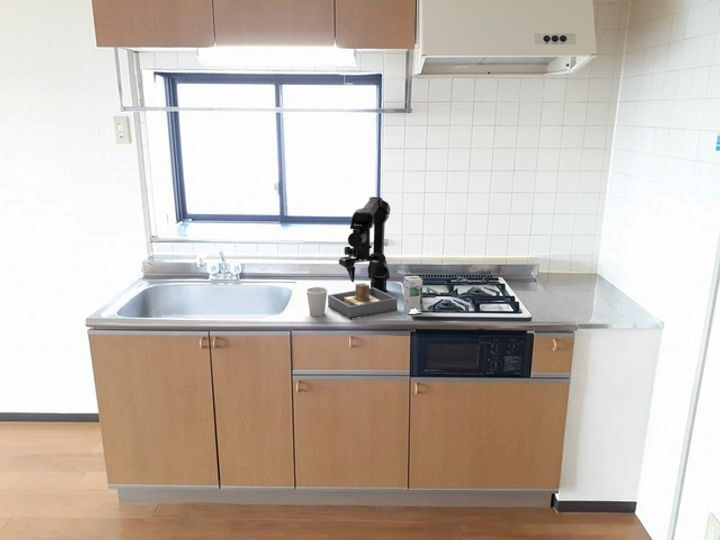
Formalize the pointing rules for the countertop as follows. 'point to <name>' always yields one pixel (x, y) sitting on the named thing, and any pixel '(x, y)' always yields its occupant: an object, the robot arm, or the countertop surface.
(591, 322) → the countertop surface
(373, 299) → the birch bore plate
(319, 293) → the dixie cup
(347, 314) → the charcoal tray
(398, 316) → the countertop surface
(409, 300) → the syrup box
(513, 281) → the countertop surface
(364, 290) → the walnut peg
